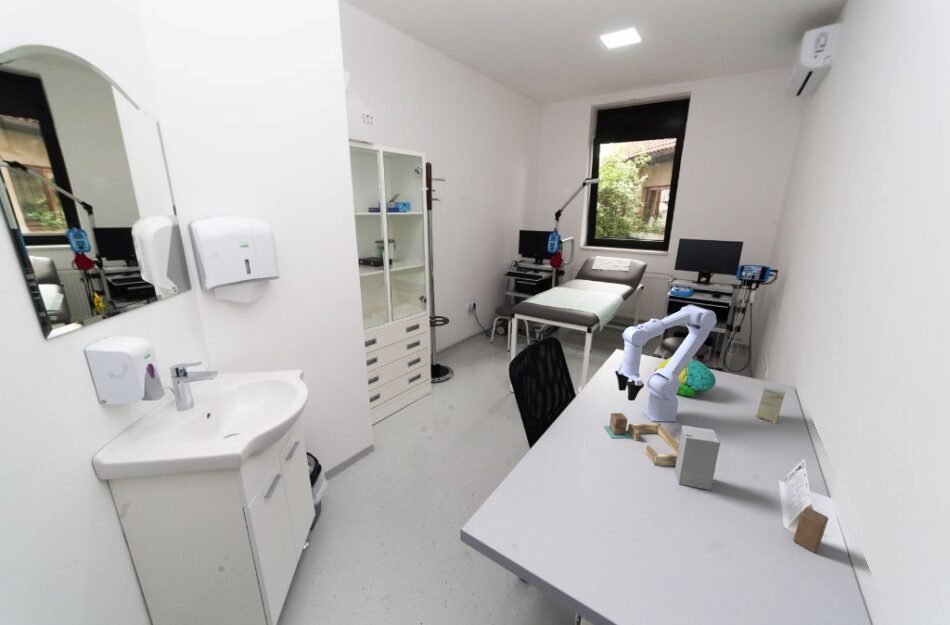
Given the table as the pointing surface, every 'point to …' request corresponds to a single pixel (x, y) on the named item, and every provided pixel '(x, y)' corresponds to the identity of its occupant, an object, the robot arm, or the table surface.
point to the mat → (616, 435)
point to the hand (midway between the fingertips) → (626, 395)
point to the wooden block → (810, 529)
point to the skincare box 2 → (770, 403)
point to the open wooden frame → (653, 456)
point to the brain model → (693, 378)
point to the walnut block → (618, 424)
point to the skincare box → (697, 457)
